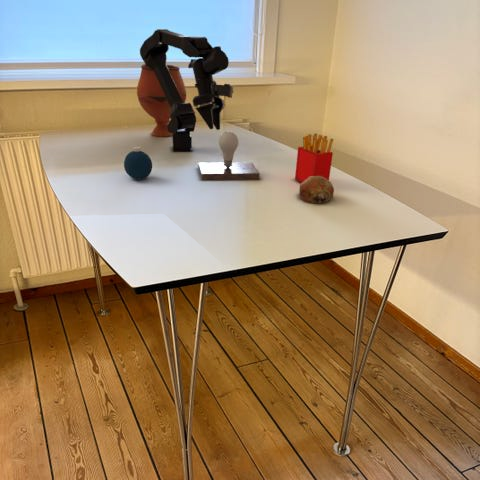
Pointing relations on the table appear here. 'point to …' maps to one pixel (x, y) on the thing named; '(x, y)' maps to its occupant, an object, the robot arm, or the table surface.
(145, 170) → the christmas ornament
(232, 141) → the lightbulb
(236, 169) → the walnut board
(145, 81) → the goblet
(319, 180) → the bread roll
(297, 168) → the french fries container
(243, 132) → the table surface
